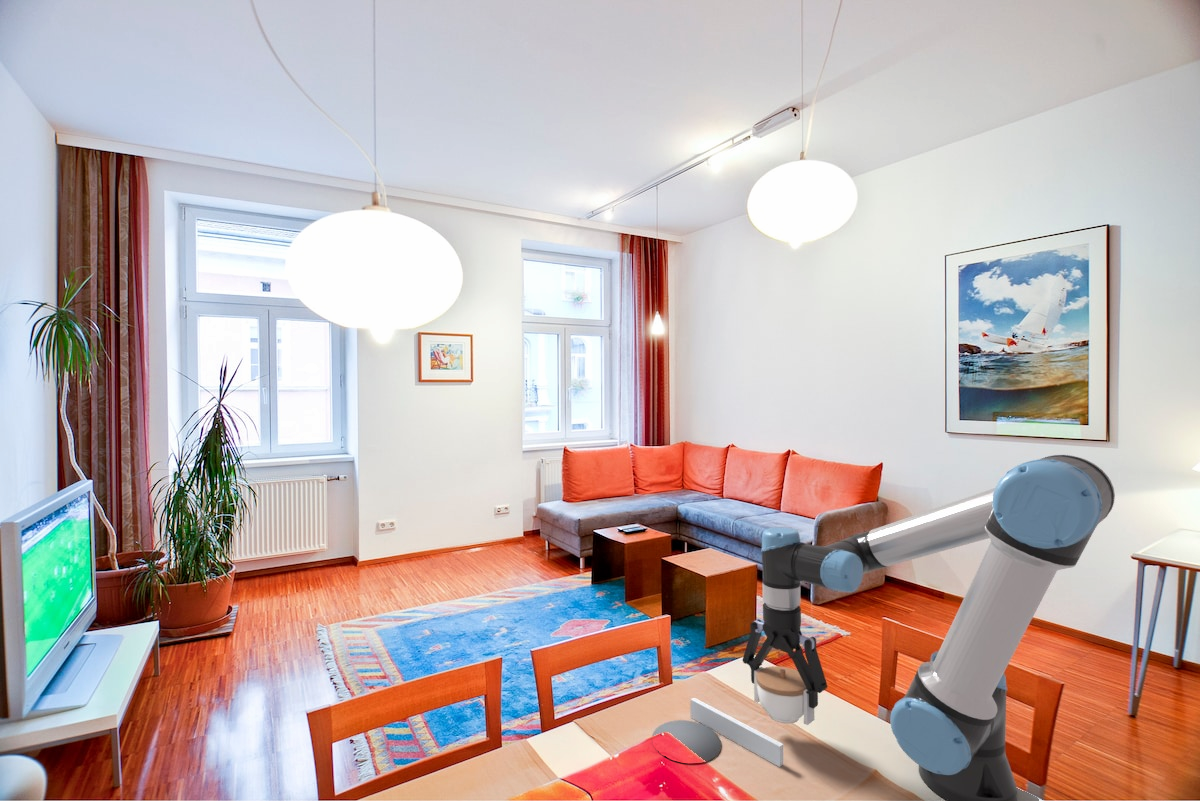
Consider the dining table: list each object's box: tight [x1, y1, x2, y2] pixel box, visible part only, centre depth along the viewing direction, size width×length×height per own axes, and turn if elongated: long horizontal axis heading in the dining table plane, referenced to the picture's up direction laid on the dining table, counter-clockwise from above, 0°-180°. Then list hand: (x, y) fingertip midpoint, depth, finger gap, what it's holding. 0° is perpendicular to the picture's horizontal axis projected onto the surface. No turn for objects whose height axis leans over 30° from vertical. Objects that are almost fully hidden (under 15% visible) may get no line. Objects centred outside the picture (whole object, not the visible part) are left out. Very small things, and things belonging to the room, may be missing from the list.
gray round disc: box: [651, 719, 722, 763], centre depth 117 cm, size 14×14×1 cm
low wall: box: [689, 697, 784, 768], centre depth 117 cm, size 22×1×4 cm, turn 41°
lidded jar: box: [756, 665, 807, 724], centre depth 118 cm, size 11×11×9 cm
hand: (783, 710), depth 118 cm, fingers closed on lidded jar, 11 cm apart
